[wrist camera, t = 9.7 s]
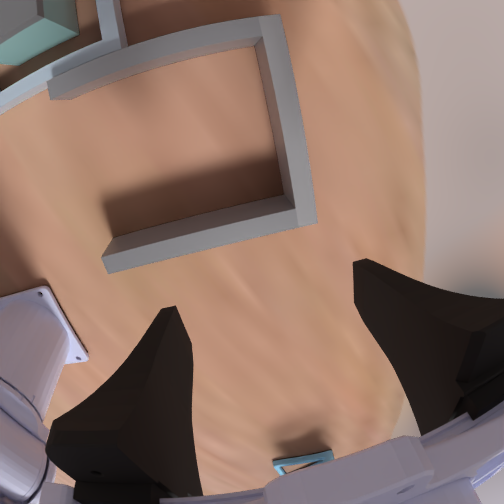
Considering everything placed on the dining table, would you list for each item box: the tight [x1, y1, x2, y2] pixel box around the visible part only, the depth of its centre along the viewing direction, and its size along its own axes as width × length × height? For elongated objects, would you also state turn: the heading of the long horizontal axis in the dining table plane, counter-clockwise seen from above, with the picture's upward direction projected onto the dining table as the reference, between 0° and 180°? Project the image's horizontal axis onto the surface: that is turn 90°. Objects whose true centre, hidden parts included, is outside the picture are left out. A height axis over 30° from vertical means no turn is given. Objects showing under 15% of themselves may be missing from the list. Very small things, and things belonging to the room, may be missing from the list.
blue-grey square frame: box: [0, 0, 128, 115], centre depth 12 cm, size 11×11×2 cm
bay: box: [46, 14, 318, 274], centre depth 17 cm, size 13×12×3 cm
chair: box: [273, 450, 334, 475], centre depth 33 cm, size 8×8×12 cm
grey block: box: [0, 0, 80, 66], centre depth 10 cm, size 5×5×6 cm
